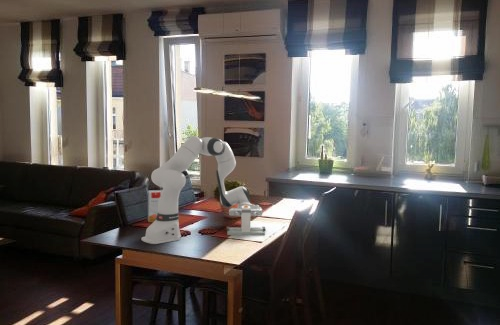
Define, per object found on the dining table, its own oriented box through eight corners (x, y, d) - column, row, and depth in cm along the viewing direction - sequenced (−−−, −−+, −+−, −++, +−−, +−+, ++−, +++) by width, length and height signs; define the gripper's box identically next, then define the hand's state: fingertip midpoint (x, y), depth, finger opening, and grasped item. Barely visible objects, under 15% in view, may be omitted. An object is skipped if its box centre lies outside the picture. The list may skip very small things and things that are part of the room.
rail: (226, 231, 254) (226, 228, 254) (226, 229, 259) (226, 226, 259) (265, 231, 256) (265, 228, 256) (264, 229, 261) (264, 226, 261)
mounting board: (227, 234, 252) (227, 232, 252) (227, 230, 262) (227, 228, 262) (265, 234, 253) (265, 232, 253) (263, 230, 263) (263, 228, 263)
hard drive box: (148, 222, 278) (147, 192, 276) (147, 220, 286) (147, 190, 284) (172, 221, 283) (172, 191, 281) (171, 218, 290) (171, 189, 288)
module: (241, 228, 261) (241, 204, 259) (249, 228, 261) (250, 204, 260) (241, 231, 254) (242, 206, 252) (250, 231, 254) (250, 207, 253)
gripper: (228, 204, 269) (228, 209, 255) (261, 205, 270) (263, 209, 256) (228, 214, 269) (228, 220, 255) (261, 214, 270) (263, 220, 257)
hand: (246, 214), depth 256 cm, fingers open, 8 cm apart
